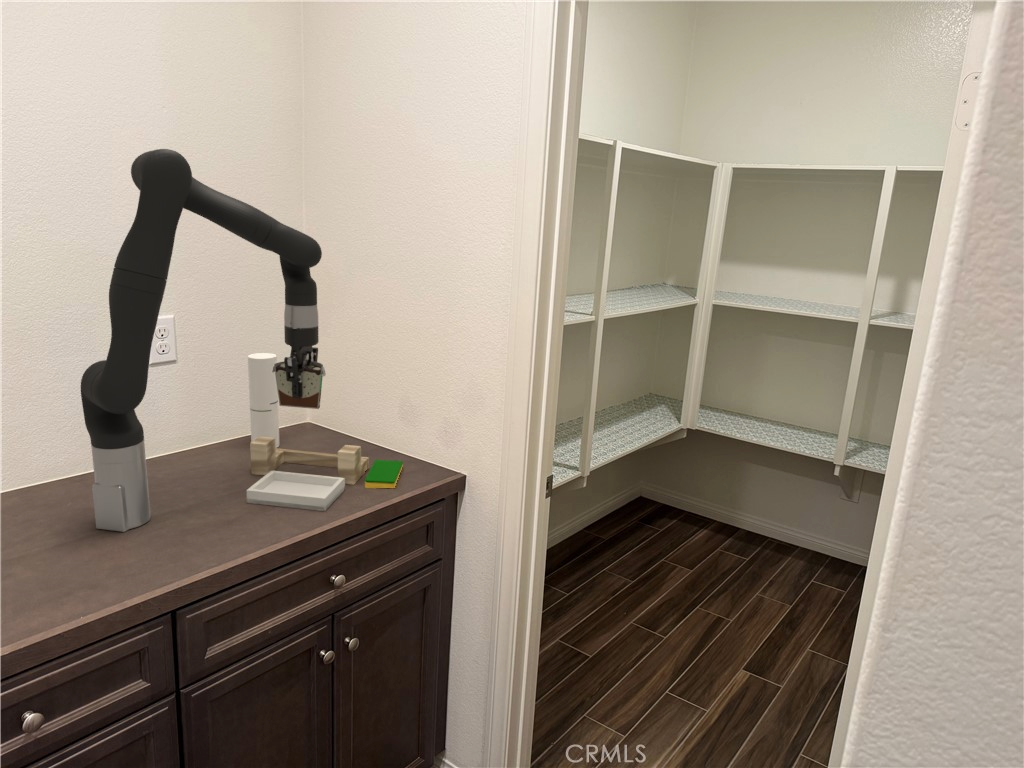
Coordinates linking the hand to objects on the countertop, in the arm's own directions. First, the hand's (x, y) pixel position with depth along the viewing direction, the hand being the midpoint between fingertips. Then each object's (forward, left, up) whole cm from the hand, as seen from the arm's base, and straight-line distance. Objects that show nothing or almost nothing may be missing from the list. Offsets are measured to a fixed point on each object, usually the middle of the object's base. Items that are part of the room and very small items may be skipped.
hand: (302, 394), depth 164 cm
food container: (+1, 0, -3) cm, 3 cm away
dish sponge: (+5, -19, -22) cm, 29 cm away
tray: (-11, -3, -21) cm, 24 cm away
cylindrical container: (+18, +19, -21) cm, 34 cm away
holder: (+4, 0, -21) cm, 21 cm away
